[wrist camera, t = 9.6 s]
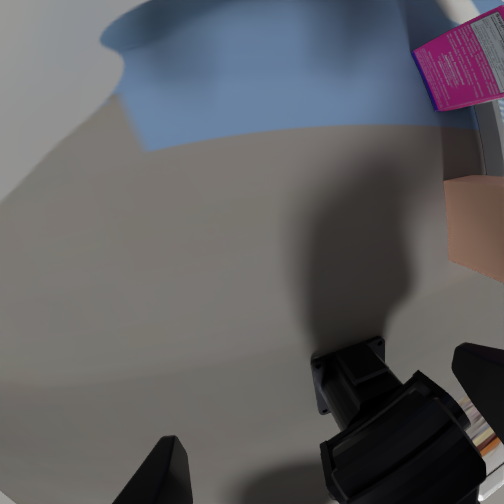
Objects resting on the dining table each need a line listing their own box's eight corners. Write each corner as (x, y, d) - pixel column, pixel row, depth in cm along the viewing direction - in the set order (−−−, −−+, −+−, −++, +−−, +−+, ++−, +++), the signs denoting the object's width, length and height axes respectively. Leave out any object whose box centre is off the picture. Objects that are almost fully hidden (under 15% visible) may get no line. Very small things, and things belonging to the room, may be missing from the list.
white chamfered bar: (523, 454, 43) (483, 488, 40) (519, 471, 41) (478, 505, 38) (509, 452, 50) (468, 483, 47) (506, 467, 48) (464, 499, 45)
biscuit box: (474, 174, 20) (541, 180, 13) (478, 247, 22) (540, 268, 14) (442, 180, 20) (517, 187, 12) (448, 260, 22) (514, 287, 14)
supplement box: (447, 48, 17) (535, 16, 6) (470, 106, 19) (566, 93, 8) (407, 49, 17) (504, 2, 6) (433, 113, 19) (545, 95, 8)
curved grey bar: (497, 243, 23) (514, 248, 20) (490, 246, 22) (507, 252, 20) (464, 50, 17) (480, 44, 15) (456, 48, 17) (472, 42, 15)
